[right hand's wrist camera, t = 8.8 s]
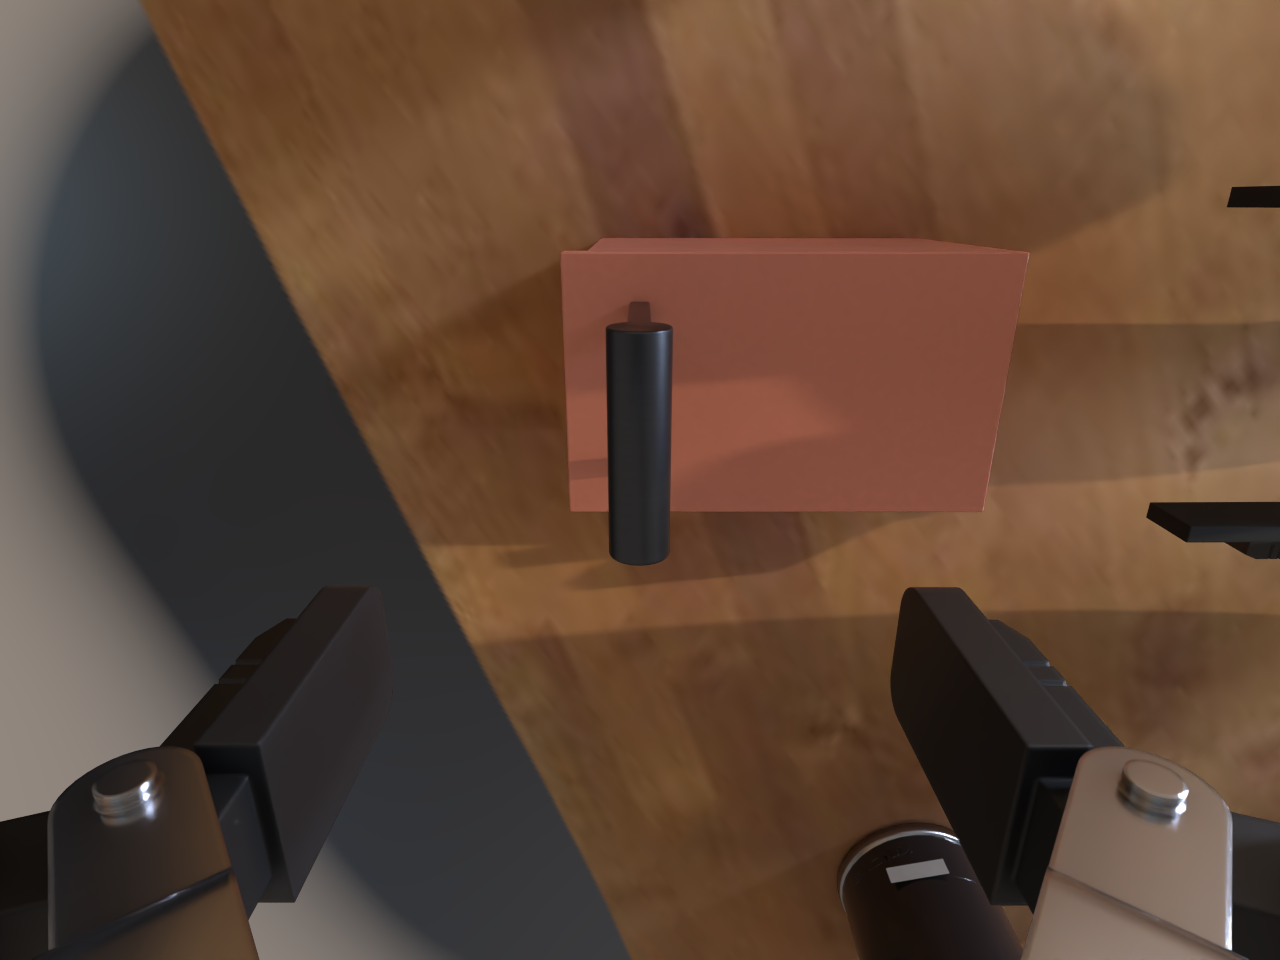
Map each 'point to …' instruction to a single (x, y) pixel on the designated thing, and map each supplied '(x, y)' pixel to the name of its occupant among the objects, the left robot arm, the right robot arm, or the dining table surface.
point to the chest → (782, 244)
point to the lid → (782, 382)
